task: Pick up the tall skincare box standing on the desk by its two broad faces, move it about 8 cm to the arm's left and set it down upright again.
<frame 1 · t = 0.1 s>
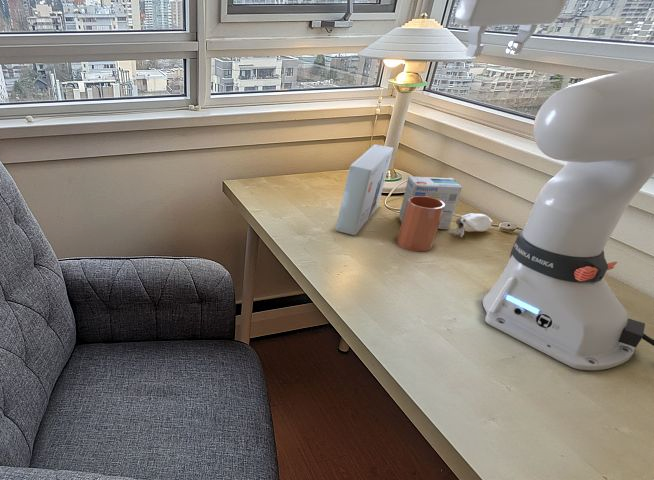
hand: (492, 55, 81), 39 cm above the table, tool pointing down, fingers open, 8 cm apart
skincare box: (358, 219, 119), on the table
light bulb box: (422, 224, 117), on the table
bird figurine: (470, 232, 113), on the table
pen cup: (414, 243, 108), on the table
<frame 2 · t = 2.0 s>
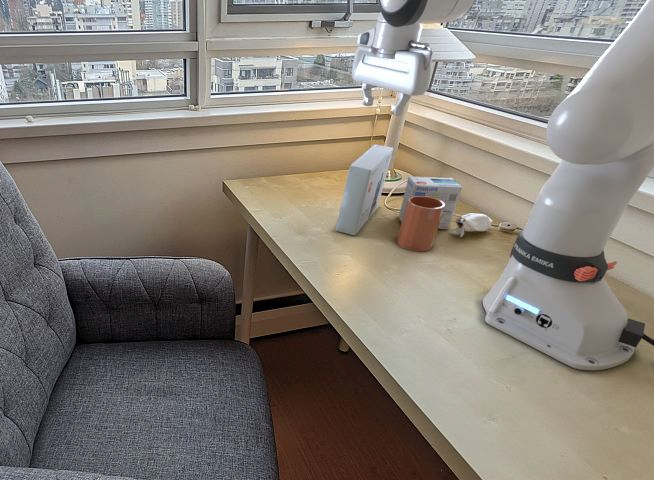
hand: (381, 110, 105), 26 cm above the table, tool pointing down, fingers open, 8 cm apart
nothing on the table moved.
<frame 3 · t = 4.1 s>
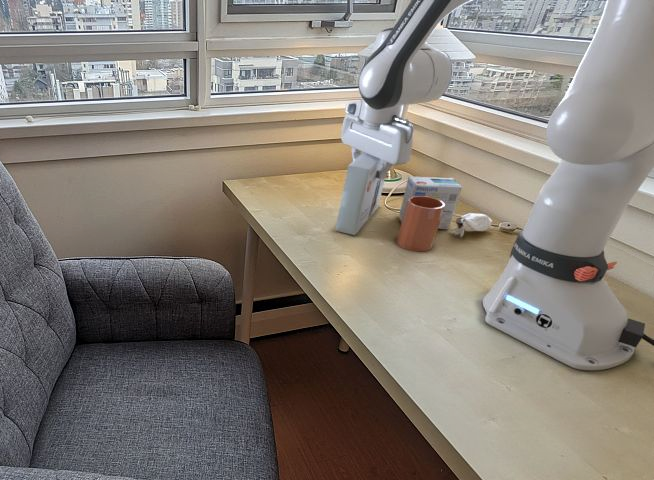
hand: (368, 172, 113), 12 cm above the table, tool pointing down, fingers closed on skincare box, 7 cm apart
skincare box: (358, 219, 119), on the table, touching gripper
everything else where it was.
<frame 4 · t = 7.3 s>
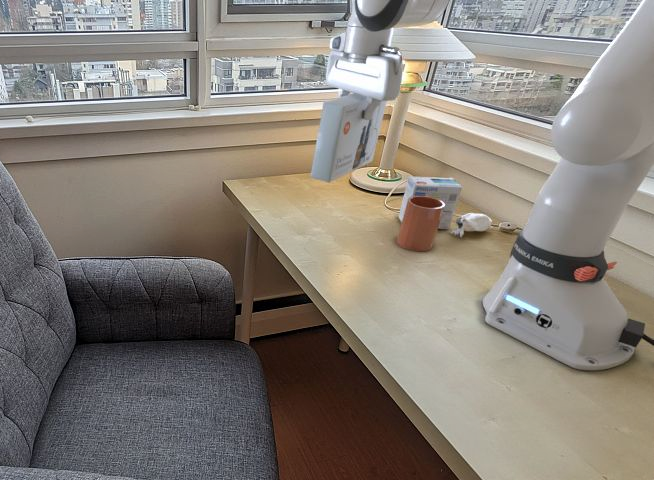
hand: (354, 115, 103), 25 cm above the table, tool pointing down, fingers closed on skincare box, 6 cm apart
skincare box: (343, 170, 110), point 13 cm above the table, touching gripper
everything else where it was.
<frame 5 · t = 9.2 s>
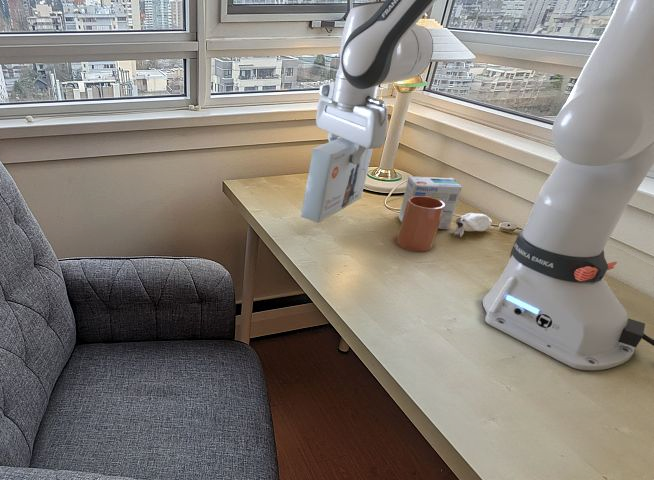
hand: (343, 158, 108), 16 cm above the table, tool pointing down, fingers closed on skincare box, 6 cm apart
skincare box: (333, 208, 114), point 4 cm above the table, touching gripper
everything else where it was.
when the fingers open (12 cm above the table, at t = 10.8 s): skincare box stays where it is, on the table.
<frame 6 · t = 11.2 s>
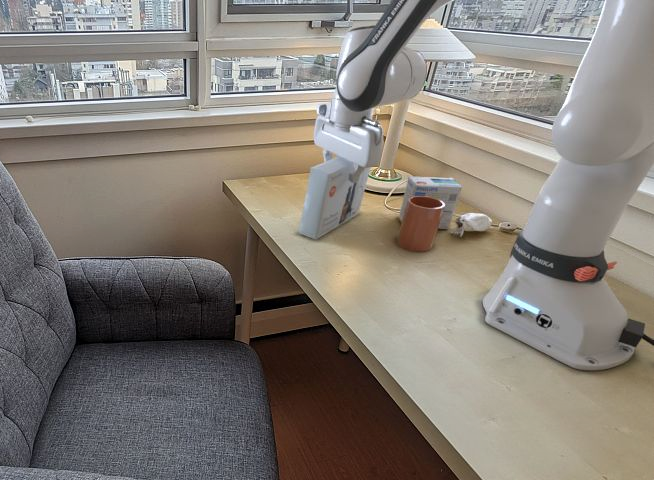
hand: (340, 175, 110), 12 cm above the table, tool pointing down, fingers open, 8 cm apart
skincare box: (330, 224, 117), on the table
everything else where it was.
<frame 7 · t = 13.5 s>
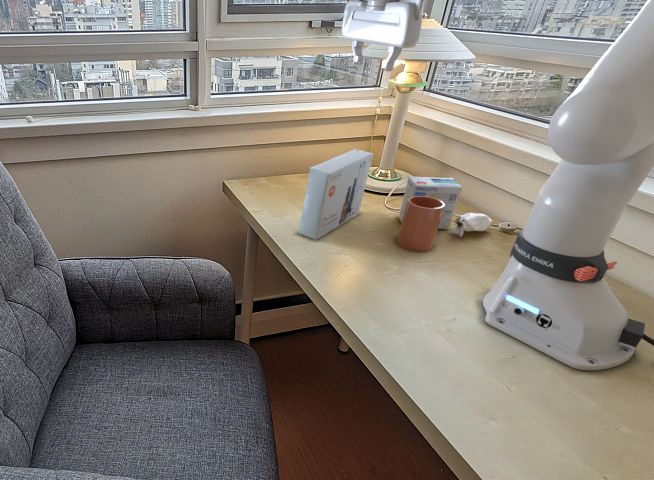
hand: (371, 67, 102), 34 cm above the table, tool pointing down, fingers open, 8 cm apart
nothing on the table moved.
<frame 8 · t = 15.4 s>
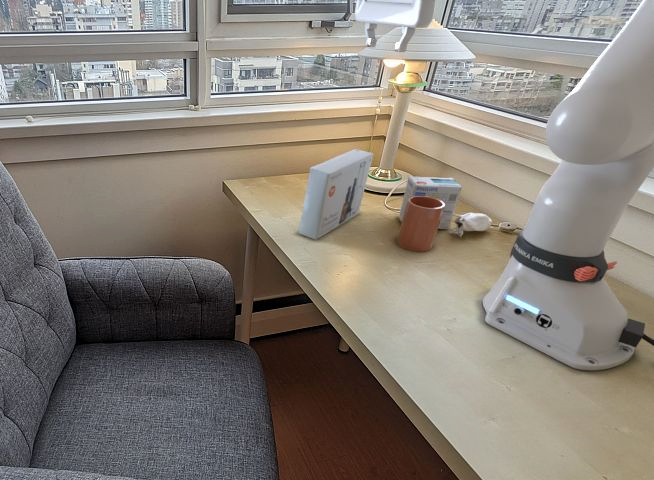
hand: (384, 49, 103), 37 cm above the table, tool pointing down, fingers open, 8 cm apart
nothing on the table moved.
at the end: skincare box 0.2 cm from the target spot, on the table; skincare box tilted 0°; the gripper is holding nothing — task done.
